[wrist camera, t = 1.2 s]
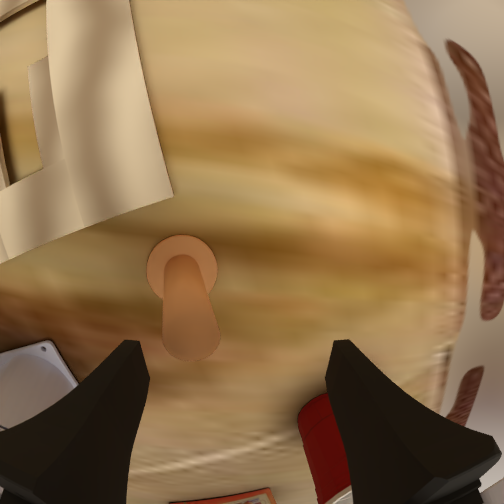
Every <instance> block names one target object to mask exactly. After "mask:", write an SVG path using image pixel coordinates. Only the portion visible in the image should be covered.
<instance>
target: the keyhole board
mask: <svg viewBox="0 0 504 504" xmlns="http://www.w3.org/2000/svg"><path fill="white" fill-rule="evenodd" d="M36 1H38V0H0V22H1V21H3V20H4V19H6V18H8V17H9V16H11V15H13V14H14V13H16V12H18V11H20V10H21V9H23V8H25V7H27V6H29V5H31V4H33V3H34V2H36ZM46 22H47V46H48V56H47V57H45V58H43V59H41V60H39V61H37V62H35V63H33V64H31V65H29V66H28V78H29V88H30V97H31V105H32V112H33V119H34V125H35V131H36V136H37V141H38V146H39V151H40V156H41V160H42V165H43V169H42V170H40V171H37V172H35V173H33V174H31V175H29V176H28V177H26V178H24V179H22V180H20V181H18V182H16V183H14V184H12V185H11V186H10V182H9V178H8V173H7V169H6V164H5V159H4V153H3V148H2V142H1V135H0V264H1V263H3V262H5V261H7V260H9V259H12V258H14V257H16V256H18V255H20V254H23V253H25V252H27V251H30V250H32V249H34V248H36V247H39V246H41V245H43V244H46V243H48V242H51V241H53V240H55V239H58V238H60V237H63V236H65V235H68V234H70V233H73V232H75V231H78V230H80V229H83V228H86V227H88V226H91V225H93V224H96V223H99V222H101V221H104V220H107V219H110V218H112V217H115V216H118V215H121V214H124V213H126V212H129V211H132V210H135V209H138V208H141V207H144V206H147V205H150V204H153V203H156V202H159V201H162V200H165V199H168V198H171V197H174V193H173V189H172V186H171V182H170V179H169V175H168V172H167V168H166V164H165V161H164V157H163V153H162V149H161V145H160V142H159V138H158V134H157V130H156V126H155V122H154V118H153V114H152V109H151V105H150V101H149V97H148V92H147V88H146V83H145V79H144V74H143V70H142V65H141V60H140V55H139V50H138V45H137V40H136V35H135V29H134V24H133V18H132V12H131V6H130V0H47V1H46Z"/></svg>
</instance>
